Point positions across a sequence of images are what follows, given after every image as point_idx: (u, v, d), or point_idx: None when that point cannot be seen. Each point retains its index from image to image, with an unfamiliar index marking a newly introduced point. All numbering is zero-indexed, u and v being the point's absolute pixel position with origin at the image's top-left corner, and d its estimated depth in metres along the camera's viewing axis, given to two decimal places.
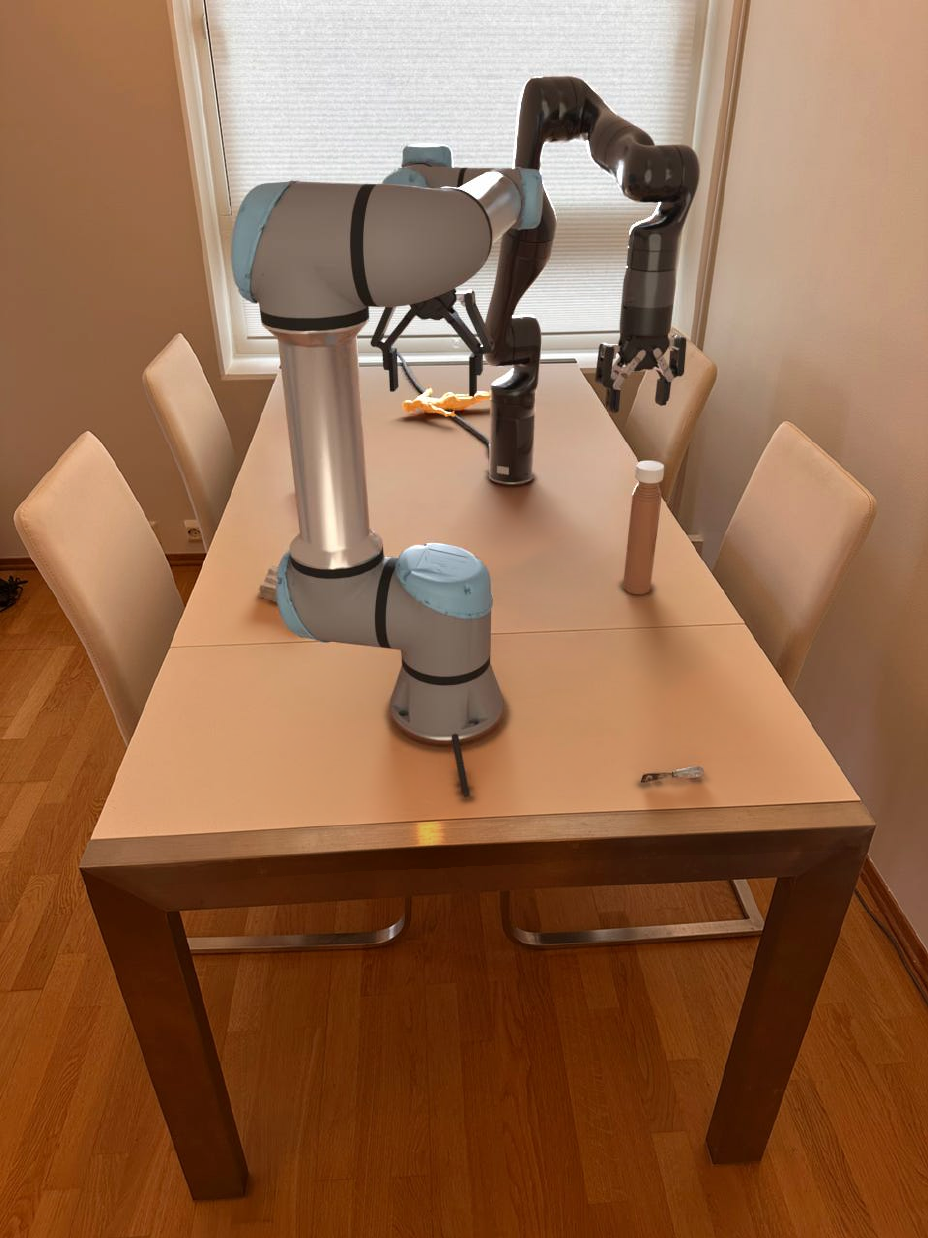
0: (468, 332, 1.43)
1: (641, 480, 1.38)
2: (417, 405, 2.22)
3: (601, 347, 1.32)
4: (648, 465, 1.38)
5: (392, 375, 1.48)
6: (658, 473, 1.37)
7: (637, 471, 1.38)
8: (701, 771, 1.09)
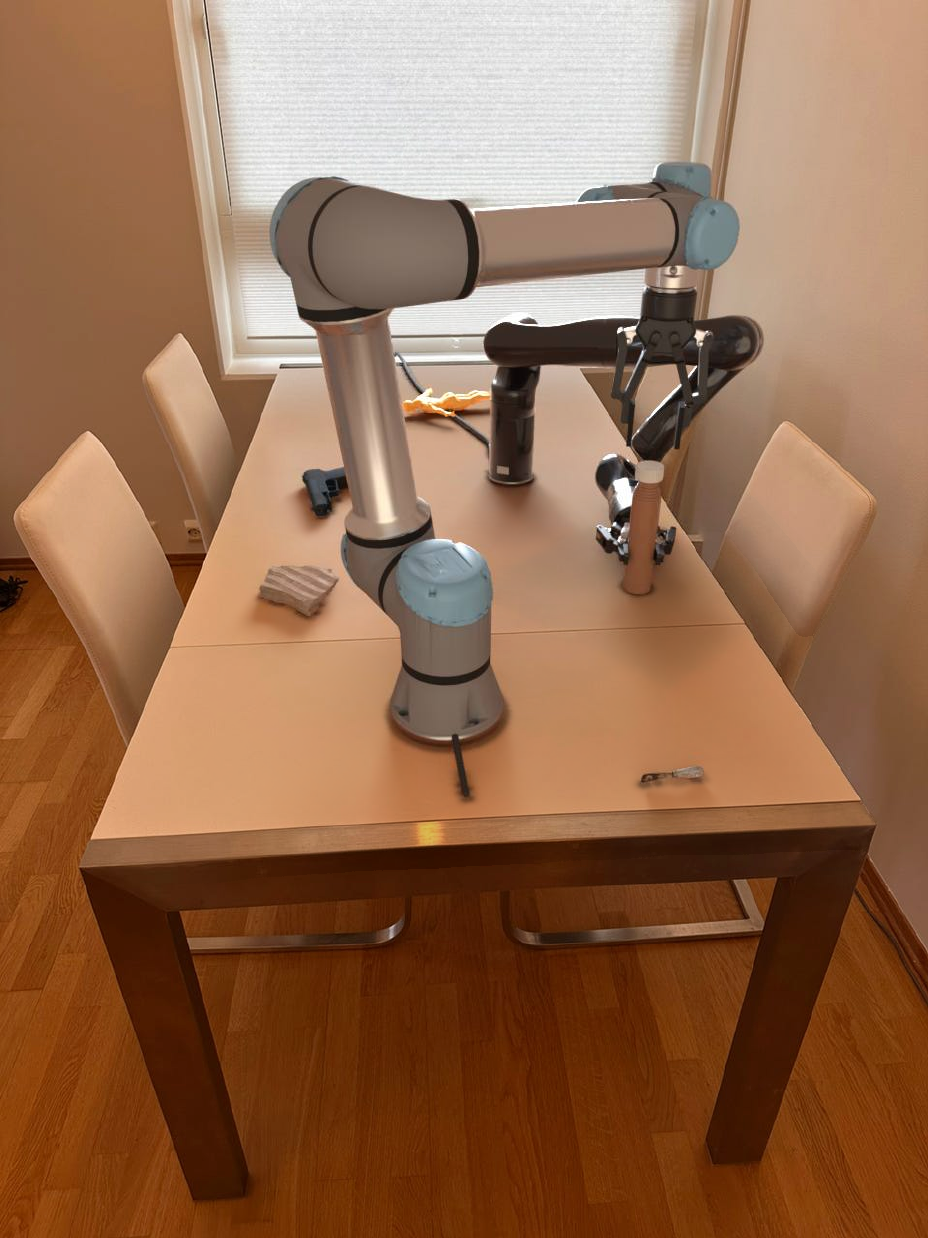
0: (632, 375, 1.31)
1: (641, 480, 1.38)
2: (417, 405, 2.22)
3: None
4: (648, 465, 1.38)
5: None
6: (658, 473, 1.37)
7: (637, 471, 1.38)
8: (701, 771, 1.09)
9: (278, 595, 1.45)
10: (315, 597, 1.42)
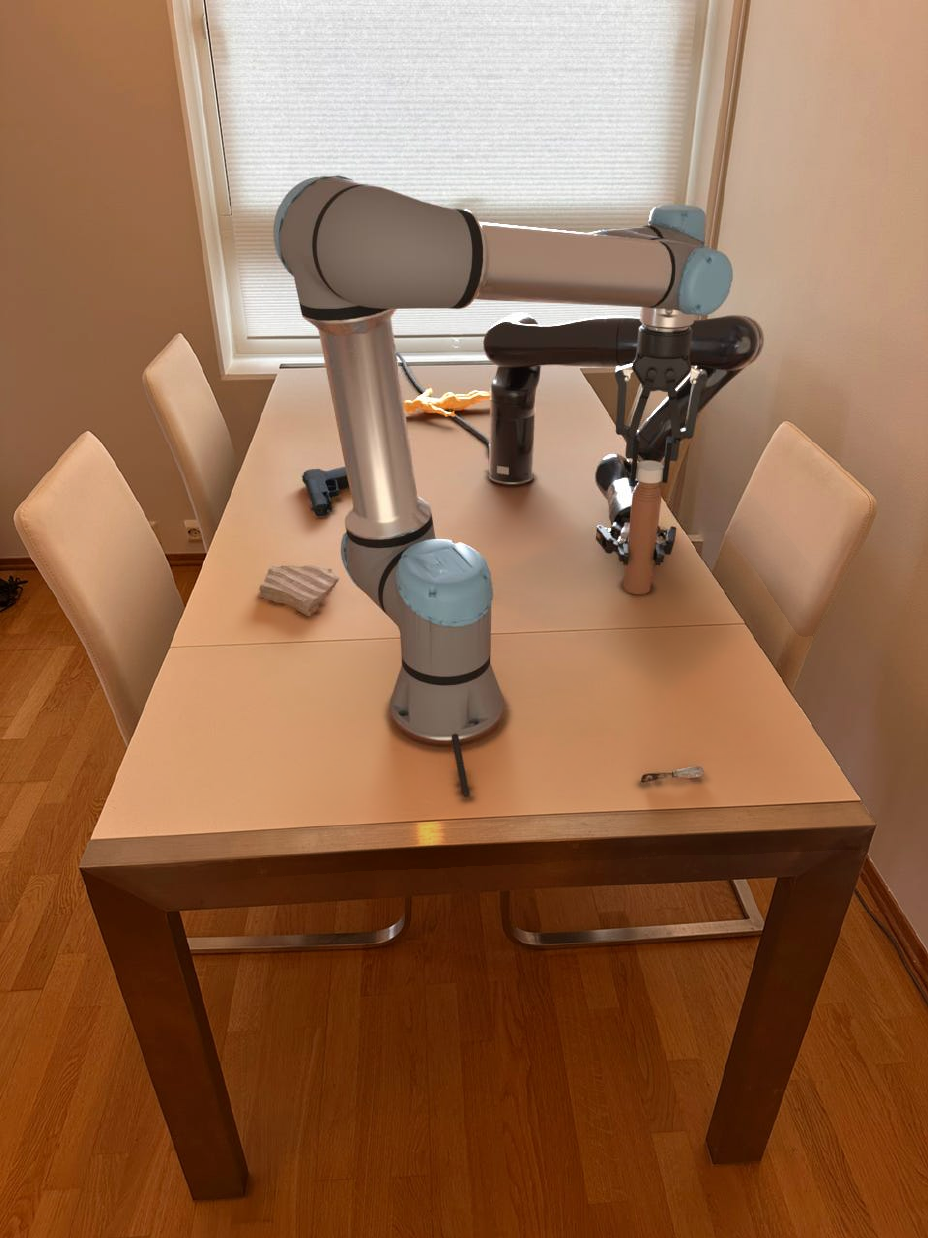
0: (634, 411, 1.34)
1: (641, 480, 1.38)
2: (417, 405, 2.22)
3: None
4: (648, 465, 1.38)
5: None
6: (658, 473, 1.37)
7: (637, 471, 1.38)
8: (701, 771, 1.09)
9: (278, 595, 1.45)
10: (315, 597, 1.42)
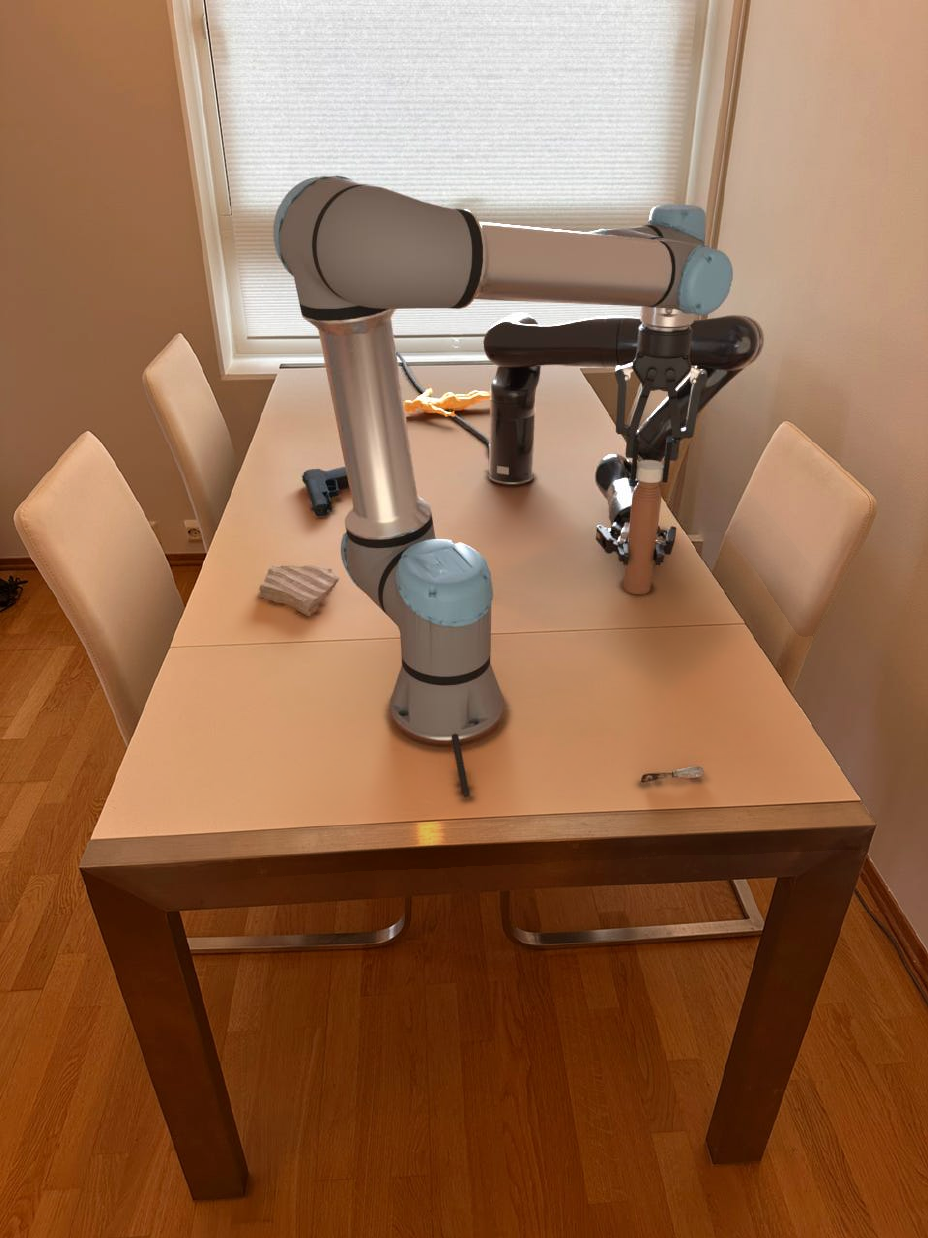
0: (634, 410, 1.34)
1: (661, 479, 1.38)
2: (417, 405, 2.22)
3: None
4: (650, 465, 1.38)
5: None
6: None
7: (657, 474, 1.37)
8: (701, 771, 1.09)
9: (278, 595, 1.45)
10: (315, 597, 1.42)
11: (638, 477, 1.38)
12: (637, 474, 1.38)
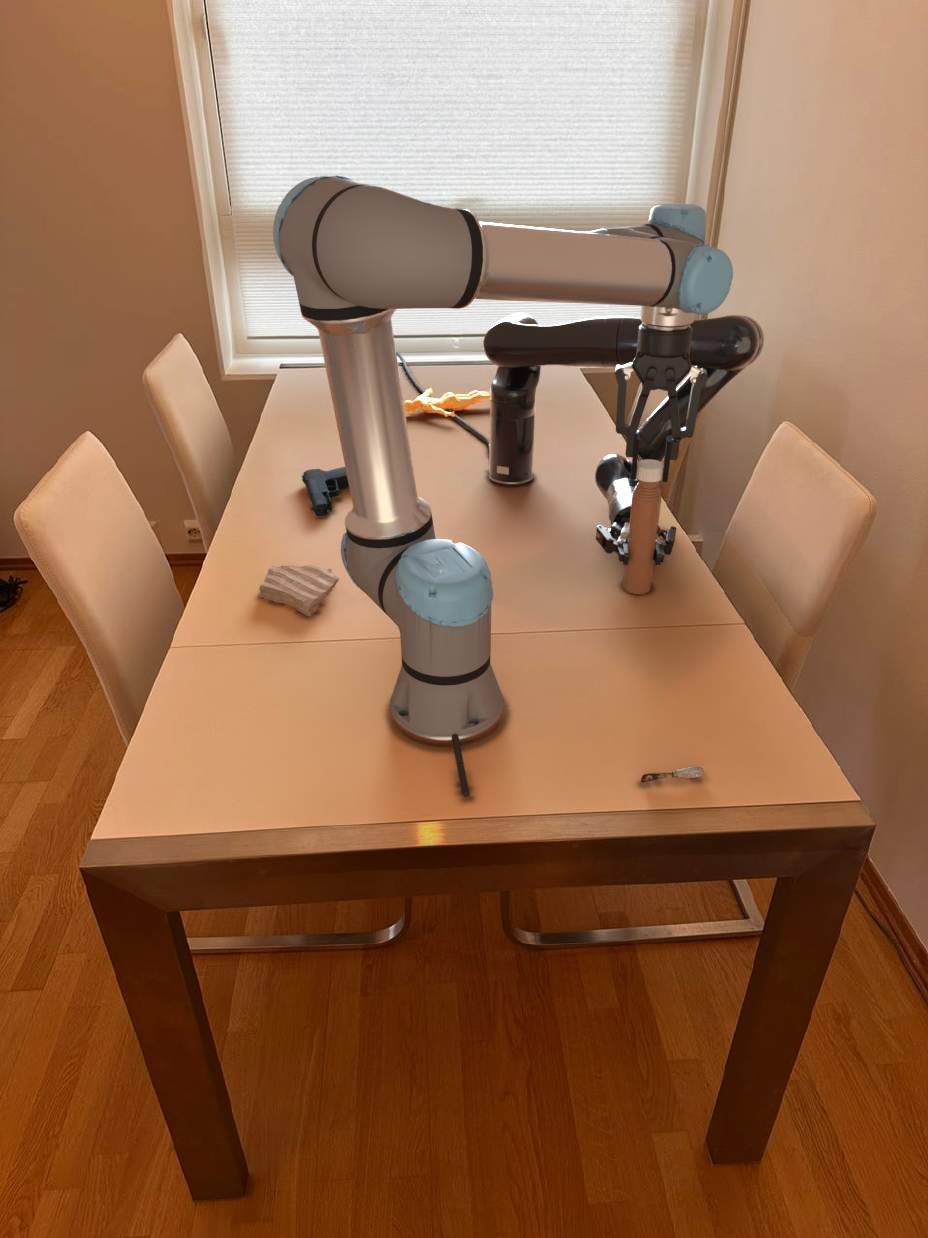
0: (634, 410, 1.34)
1: None
2: (417, 405, 2.22)
3: None
4: (652, 464, 1.38)
5: (665, 458, 1.38)
6: None
7: None
8: (701, 771, 1.09)
9: (278, 595, 1.45)
10: (315, 597, 1.42)
11: (658, 478, 1.37)
12: (657, 476, 1.37)
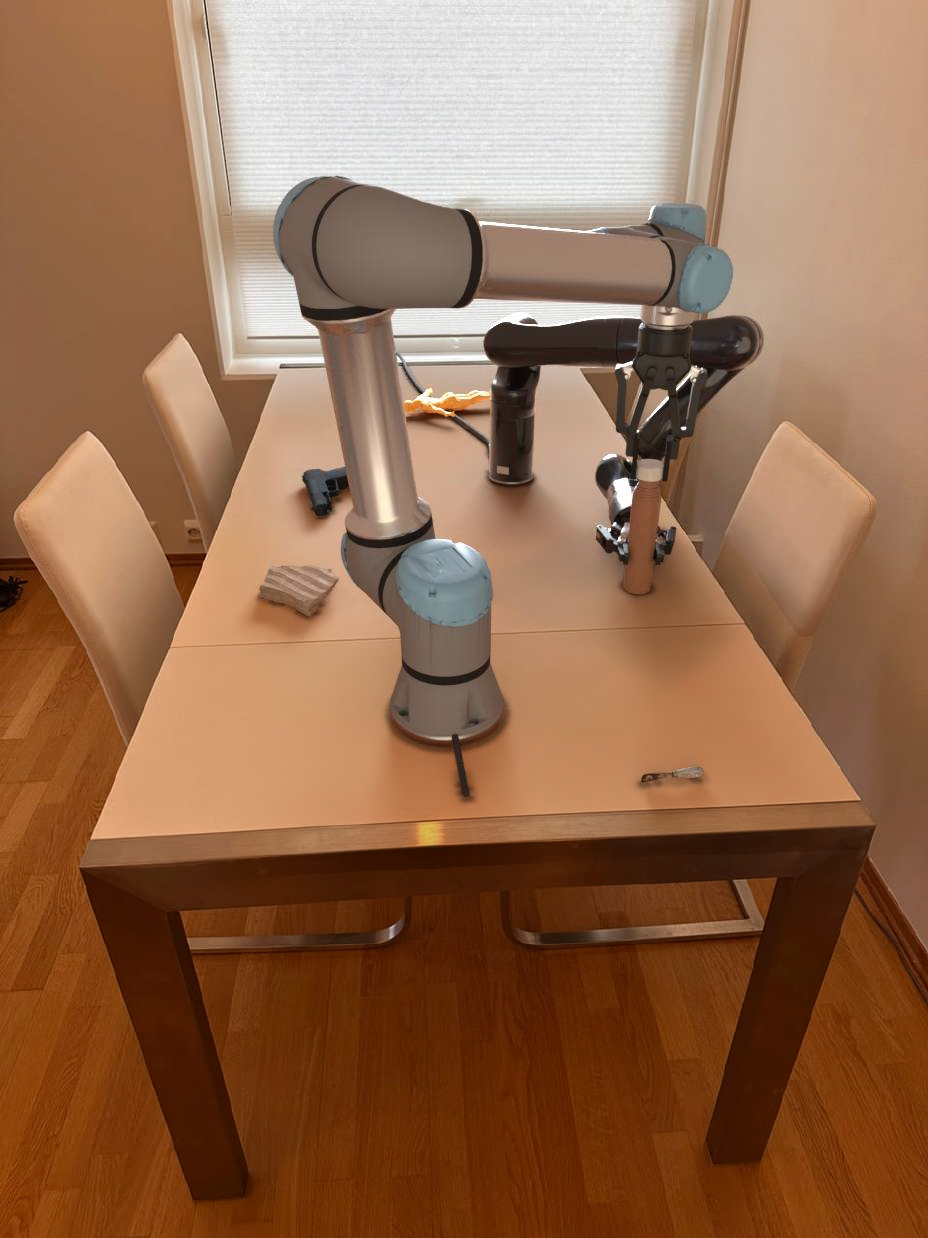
0: (634, 409, 1.34)
1: None
2: (417, 405, 2.22)
3: None
4: (649, 463, 1.38)
5: (665, 458, 1.38)
6: (642, 471, 1.37)
7: None
8: (701, 771, 1.09)
9: (278, 595, 1.45)
10: (315, 597, 1.42)
11: None
12: None
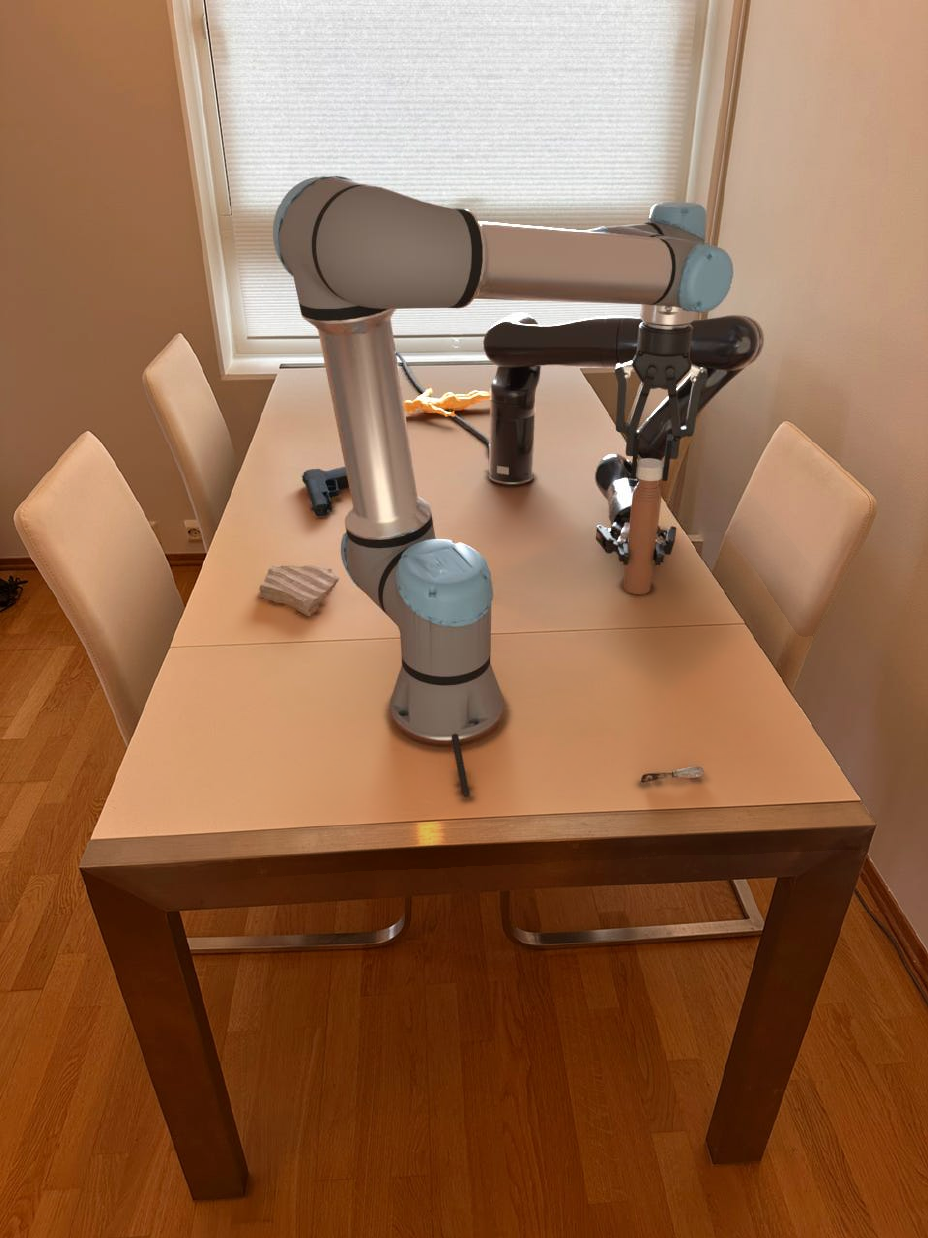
0: (634, 409, 1.34)
1: (647, 479, 1.37)
2: (417, 405, 2.22)
3: None
4: (648, 463, 1.38)
5: None
6: (662, 469, 1.37)
7: (641, 471, 1.37)
8: (701, 771, 1.09)
9: (278, 595, 1.45)
10: (315, 597, 1.42)
11: None
12: None
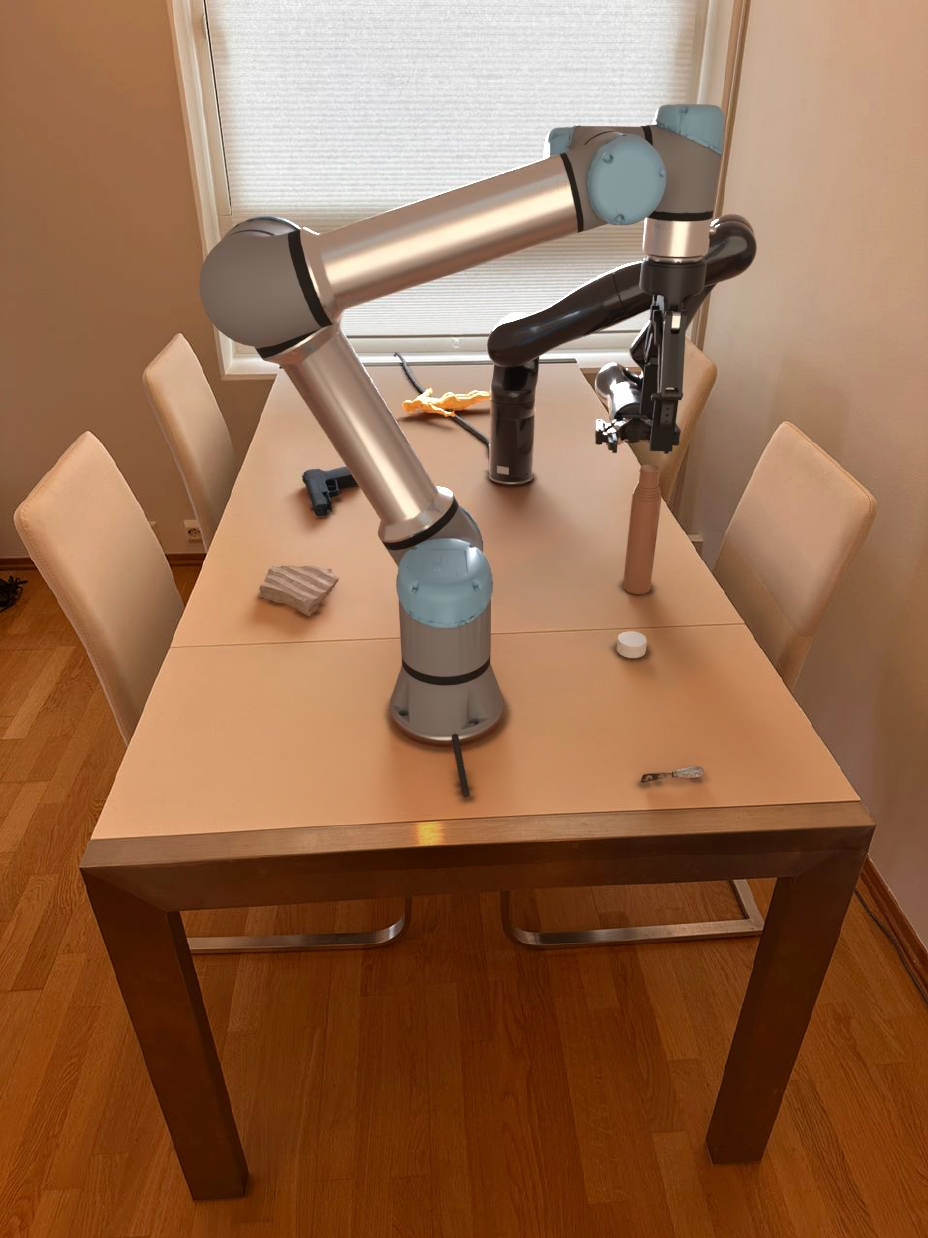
0: None
1: (645, 650, 1.33)
2: (417, 405, 2.22)
3: None
4: (633, 639, 1.32)
5: (642, 393, 1.20)
6: None
7: (643, 648, 1.32)
8: (701, 771, 1.09)
9: (278, 595, 1.45)
10: (315, 597, 1.42)
11: (624, 654, 1.32)
12: (623, 651, 1.32)
